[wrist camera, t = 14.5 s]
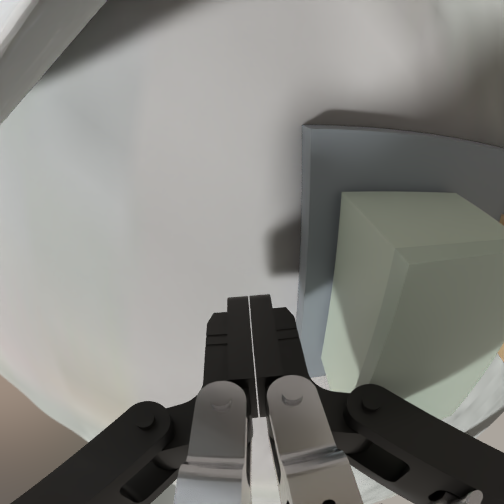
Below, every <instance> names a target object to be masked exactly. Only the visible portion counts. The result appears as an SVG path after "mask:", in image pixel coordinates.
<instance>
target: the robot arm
mask: <svg viewBox="0 0 504 504" xmlns="http://www.w3.org/2000/svg"><path fill="white" fill-rule="evenodd" d="M250 309H251V322H252V335H253V346H254V357H255V368H256V379H257V390H258V400H259V411H260V417H266V418H267V427H268V439H269V444H270V449H271V454H272V459H273V464H274V468H275V473H276V478H277V483H278V488H279V496H280V502H281V504H363V501H362V498H361V495H360V492H359V489H358V486H357V483H356V480H355V477H354V475H353V472H352V469H351V466H350V465H352V466H353V467H355V468H356V469H358V470H359V471H361V472H362V473H364V474H365V475H367V476H368V477H370V478H372V479H373V480H375V481H376V482H378V483H380V484H381V485H383V486H385V487H386V488H388V489H390V490H391V491H393V492H395V493H396V494H398V495H400V496H402V497H403V498H405V499H407V500H409V501H411V502H412V503H414V504H504V453H503V452H501V451H499V450H497V449H495V448H493V447H491V446H489V445H487V444H485V443H483V442H481V441H479V440H477V439H475V438H473V437H471V436H469V435H468V434H466V433H464V432H462V431H460V430H458V429H456V428H454V427H453V426H451V425H449V424H447V423H445V422H443V421H442V420H440V419H438V418H436V417H434V416H432V415H431V414H429V413H427V412H425V411H424V410H422V409H420V408H418V407H416V406H415V405H413V404H411V403H409V402H408V401H406V400H404V399H403V398H401V397H399V396H397V395H396V394H394V393H392V392H391V391H389V390H387V389H385V388H384V387H382V386H379V385H376V384H364V385H361V386H358V387H356V388H355V389H354V390H353V391H351V393H344V392H335V391H329V390H325V389H323V388H321V387H319V386H318V385H316V384H315V383H314V382H313V381H312V380H311V378H310V376H309V374H308V370H307V366H306V362H305V358H304V354H303V350H302V346H301V342H300V339H299V334H298V330H297V326H296V322H295V318H294V316H293V315H292V314H291V312H290V311H289V310H288V309H287V308H286V307H283V308H272V303H271V297H270V294H267V295H255V296H250ZM206 336H207V337H206V347H205V363H204V380H203V386H202V388H201V390H200V391H199V393H198V395H197V396H195V397H194V398H193V399H192V400H190V401H188V402H186V403H183V404H180V405H177V406H173V407H170V408H164V407H163V406H162V405H161V404H159V403H156V402H152V401H144V402H140V403H137V404H135V405H133V406H132V407H130V408H129V409H128V410H127V411H126V412H125V413H123V414H122V415H121V416H120V417H119V418H118V419H116V420H115V421H114V422H113V423H112V424H110V425H109V426H108V427H107V428H106V429H104V430H103V431H102V432H101V433H100V434H98V435H97V436H96V437H95V438H94V439H92V440H91V441H90V442H89V443H88V444H86V445H85V446H84V447H83V448H81V449H80V450H79V451H78V452H77V453H76V454H74V455H73V456H72V457H70V458H69V459H68V460H67V461H65V462H64V463H63V464H62V465H60V466H59V467H58V468H57V469H55V470H54V471H53V472H51V473H50V474H49V475H48V476H46V477H45V478H44V479H42V480H41V481H40V482H39V483H37V484H36V485H35V486H33V487H32V488H31V489H29V490H28V491H27V492H25V493H24V494H23V495H21V496H20V497H19V498H17V499H16V500H15V501H13V502H12V503H11V504H150V503H151V502H152V501H154V500H155V499H156V498H157V497H158V496H159V495H160V494H161V493H162V492H163V491H164V490H165V489H166V488H168V487H169V486H170V485H171V484H172V483H173V482H174V481H175V480H176V479H177V484H176V491H175V499H174V504H252V494H251V464H252V437H253V425H252V418H257V417H258V410H257V399H256V387H255V375H254V363H253V352H252V340H251V328H250V317H249V305H248V296H244V297H231V298H228V299H227V312H222V313H214V314H213V315H212V317H211V318H210V320H209V321H208V323H207V333H206Z"/></svg>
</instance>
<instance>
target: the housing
mask: <svg viewBox="0 0 504 504" xmlns="http://www.w3.org/2000/svg"><path fill="white" fill-rule="evenodd" d="M503 343H504V225H502V224H501V223H499V222H498V221H497V220H495V219H494V218H493V217H491V216H490V215H488V214H487V213H485V212H484V211H482V210H481V209H480V208H478V207H477V206H475V205H474V204H472V203H471V202H469V201H468V200H466V199H464V198H463V197H461V196H460V195H458V194H457V193H444V192H397V191H365V192H342V194H341V208H340V220H339V231H338V242H337V251H336V260H335V269H334V277H333V285H332V292H331V299H330V306H329V313H328V319H327V326H326V332H325V338H324V344H323V349H322V355H321V359H322V363H323V366H324V370H325V373H326V377H327V380H328V384H329V388H330V391H335V392H344V393H351V391H353V390H354V389H355V388H356V387H358V386H361V385H364V384H376V385H379V386H382V387H384V388H385V389H387V390H389V391H391V392H392V393H394V394H396V395H397V396H399V397H401V398H403V399H404V400H406V401H408V402H409V403H411V404H413V405H415V406H416V407H418V408H420V409H422V410H424V411H425V412H427V413H429V414H431V415H432V416H434V417H436V418H438V419H440V420H442V419H444V418H447V417H449V416H451V415H452V414H453V413H454V412H455V410H456V409H457V408H458V407H459V406H460V404H461V403H462V402H463V401H464V399H465V398H466V397H467V396H468V394H469V393H470V392H471V390H472V389H473V388H474V386H475V385H476V384H477V382H478V381H479V380H480V378H481V377H482V375H483V374H484V373H485V371H486V370H487V368H488V367H489V365H490V364H491V362H492V361H493V359H494V358H495V356H496V355H497V353H498V351H499V350H500V348H501V347H502V345H503Z"/></svg>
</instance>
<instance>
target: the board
mask: <svg viewBox="0 0 504 504" xmlns="http://www.w3.org/2000/svg"><path fill="white" fill-rule="evenodd" d="M365 191H397V192H444V193H457V194H458V195H460V196H461V197H463V198H464V199H466V200H468V201H469V202H471V203H472V204H474V205H475V206H477V207H478V208H480V209H481V210H482V211H484V212H485V213H487V214H488V215H490V216H491V217H493V218H494V219H495V220H497V221H498V222H500V218H501V214H504V148H501V147H497V146H492V145H488V144H484V143H479V142H474V141H469V140H464V139H458V138H453V137H447V136H441V135H434V134H427V133H420V132H412V131H404V130H394V129H384V128H372V127H357V126H336V125H302V209H301V242H300V267H299V287H298V304H297V320H296V326H297V330H298V334H299V339H300V342H301V346H302V350H303V354H304V358H305V362H306V366H307V370H308V374H309V376H310V378H311V377H319V376H325V375H326V373H325V370H324V366H323V363H322V359H321V355H322V349H323V344H324V338H325V332H326V326H327V319H328V313H329V306H330V299H331V292H332V285H333V277H334V269H335V260H336V251H337V242H338V231H339V220H340V208H341V194H342V192H365Z"/></svg>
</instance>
